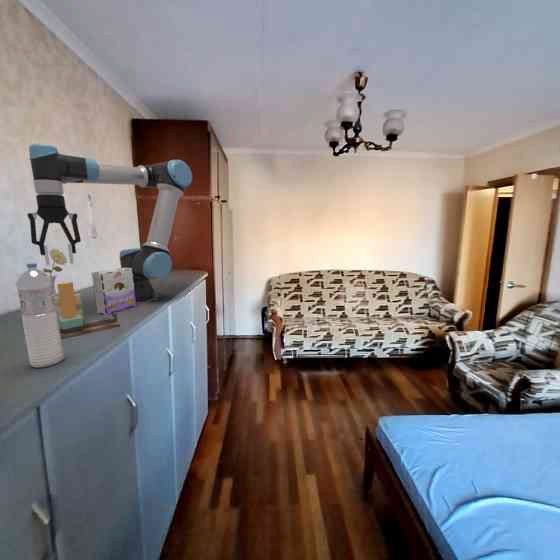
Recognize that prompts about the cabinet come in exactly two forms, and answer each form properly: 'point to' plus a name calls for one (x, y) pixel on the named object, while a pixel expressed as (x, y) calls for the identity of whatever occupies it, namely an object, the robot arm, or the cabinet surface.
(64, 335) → the rail board
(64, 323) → the block
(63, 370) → the cabinet surface
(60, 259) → the flower in vase
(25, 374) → the cabinet surface
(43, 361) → the water bottle
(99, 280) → the candy box
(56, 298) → the tan hollow wooden box
